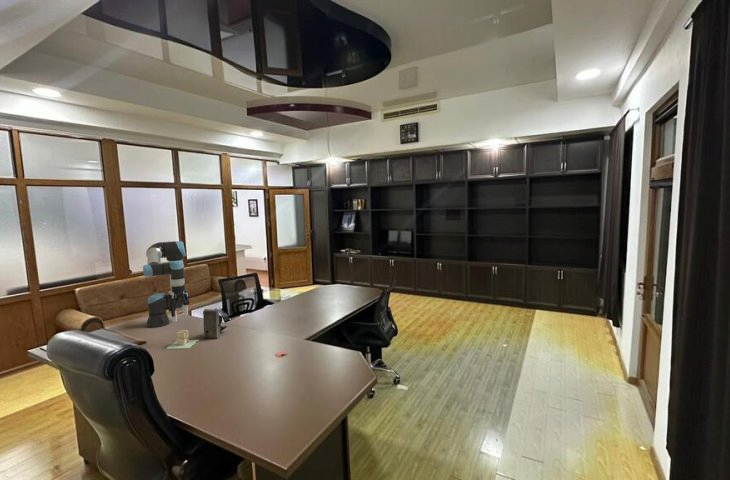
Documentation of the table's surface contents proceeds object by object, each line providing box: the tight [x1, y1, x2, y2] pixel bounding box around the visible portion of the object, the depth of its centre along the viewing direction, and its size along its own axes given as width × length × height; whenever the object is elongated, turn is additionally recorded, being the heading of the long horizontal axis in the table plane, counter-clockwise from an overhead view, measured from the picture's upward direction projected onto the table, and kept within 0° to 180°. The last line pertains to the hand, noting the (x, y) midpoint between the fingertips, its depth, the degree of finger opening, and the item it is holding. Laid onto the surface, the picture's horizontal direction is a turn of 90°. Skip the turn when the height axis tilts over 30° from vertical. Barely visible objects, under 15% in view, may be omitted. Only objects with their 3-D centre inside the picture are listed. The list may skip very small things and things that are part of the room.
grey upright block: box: [202, 308, 228, 339], centre depth 234 cm, size 10×16×20 cm, turn 174°
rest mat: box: [165, 339, 200, 350], centre depth 218 cm, size 14×14×1 cm
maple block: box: [175, 329, 190, 345], centre depth 217 cm, size 5×5×8 cm
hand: (180, 318), depth 218 cm, fingers open, 13 cm apart
